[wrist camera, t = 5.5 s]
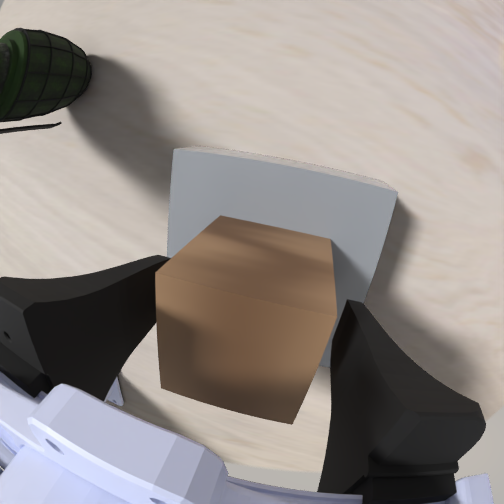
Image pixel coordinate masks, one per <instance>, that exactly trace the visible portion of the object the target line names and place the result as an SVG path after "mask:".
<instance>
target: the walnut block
mask: <svg viewBox="0 0 504 504" xmlns="http://www.w3.org/2000/svg"><path fill="white" fill-rule="evenodd" d="M155 287H156V322H157V342H158V358H159V371H160V382H161V388H162V389H165V390H168V391H171V392H173V393H176V394H179V395H182V396H185V397H188V398H191V399H194V400H197V401H200V402H203V403H207V404H210V405H213V406H217V407H220V408H224V409H227V410H231V411H235V412H238V413H242V414H246V415H250V416H254V417H259V418H263V419H267V420H272V421H277V422H282V423H287V424H293V422H294V420H295V418H296V416H297V413H298V411H299V409H300V407H301V405H302V403H303V400H304V398H305V396H306V394H307V391H308V389H309V387H310V384H311V382H312V380H313V377H314V375H315V373H316V370H317V368H318V365H319V363H320V361H321V358H322V356H323V353H324V351H325V348H326V345H327V343H328V340H329V338H330V335H331V332H332V330H333V327H334V324H335V322H336V319H337V305H336V291H335V279H334V268H333V257H332V248H331V239H328V238H324V237H320V236H315V235H311V234H306V233H302V232H297V231H293V230H288V229H284V228H279V227H274V226H270V225H265V224H260V223H255V222H251V221H246V220H241V219H236V218H231V217H226V216H221V215H220V216H219V217H218V218H217V219H215V220H214V221H213V222H212V223H211V224H210V225H208V226H207V227H206V228H205V229H204V230H203V231H201V232H200V233H199V234H198V235H197V236H196V237H195V238H193V239H192V240H191V241H190V242H189V243H188V244H187V245H186V246H184V247H183V248H182V249H181V250H180V251H179V252H178V253H177V254H175V255H174V256H173V257H172V258H171V259H170V260H169V261H168V262H166V263H165V264H164V265H163V266H162V267H161V268H160V269H159V270H158V271H157V272H155Z"/></svg>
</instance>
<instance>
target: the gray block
mask: <svg viewBox="0 0 504 504" xmlns="http://www.w3.org/2000/svg"><path fill="white" fill-rule="evenodd" d="M397 194H398V191H396V190H395V189H394V188H392V187H391V186H389V185H388V184H387V183H385V182H384V181H381V180H377V179H373V178H370V177H366V176H362V175H358V174H354V173H350V172H346V171H341V170H337V169H333V168H328V167H324V166H319V165H315V164H310V163H305V162H300V161H295V160H290V159H284V158H279V157H273V156H268V155H262V154H256V153H249V152H243V151H236V150H229V149H222V148H214V147H206V146H191V147H184V148H176V149H174V151H173V161H172V173H171V186H170V200H169V218H168V241H167V257H169V258H172V257H173V256H174V255H175V254H177V253H178V252H179V251H180V250H181V249H182V248H183V247H184V246H186V245H187V244H188V243H189V242H190V241H191V240H192V239H193V238H195V237H196V236H197V235H198V234H199V233H200V232H201V231H203V230H204V229H205V228H206V227H207V226H208V225H210V224H211V223H212V222H213V221H214V220H215V219H217V218H218V217H219V216H220V215H221V216H226V217H231V218H236V219H241V220H246V221H251V222H255V223H260V224H265V225H270V226H274V227H279V228H284V229H288V230H293V231H297V232H302V233H306V234H311V235H315V236H320V237H324V238H328V239H331V248H332V257H333V268H334V279H335V291H336V305H337V319H336V322H335V324H334V327H333V330H332V332H331V335H330V338H329V340H328V343H327V345H326V348H325V351H324V353H323V356H322V358H321V361H320V363H319V365H318V366H324V367H329V368H330V357H331V346H332V339H333V336H334V334H335V331H336V328H337V326H338V323H339V320H340V318H341V315H342V312H343V309H344V306H345V304H346V301H347V299H349V300H354V301H358V302H362V303H364V301H365V298H366V295H367V293H368V290H369V287H370V284H371V281H372V278H373V275H374V273H375V270H376V267H377V264H378V261H379V257H380V254H381V251H382V248H383V245H384V241H385V238H386V235H387V231H388V228H389V224H390V221H391V217H392V214H393V210H394V206H395V202H396V198H397Z"/></svg>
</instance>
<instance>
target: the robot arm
mask: <svg viewBox="0 0 504 504" xmlns="http://www.w3.org/2000/svg"><path fill="white" fill-rule="evenodd" d="M170 259H171V258H169V257H165V256H161V255H155V256H151V257H147V258H143V259H140V260H137V261H133V262H130V263H127V264H124V265H121V266H117V267H113V268H110V269H106V270H102V271H99V272H95V273H90V274H85V275H79V276H73V277H64V278H54V279H23V278H12V277H1V278H0V466H1V467H2V468H3V469H4V471H2V469H1V468H0V504H494V502H493V497H492V491H491V486H490V482H489V477H488V474H487V473H484V474H479V475H474V476H468V477H464V478H461V479H459V480H457V481H455V478H454V473H456V472H457V471H458V469H459V467H458V462H457V461H458V460H459V459H460V458H461V457H462V456H463V455H464V454H466V453H467V451H469V450H470V449H471V448H472V447H473V446H474V445H475V444H476V443H477V442H478V441H479V440H480V438H481V436H482V434H483V433H484V431H485V428H486V423H485V420H484V417H483V414H482V411H481V408H480V406H479V403H477V402H475V401H473V400H471V399H469V398H467V397H465V396H463V395H461V394H459V393H457V392H455V391H453V390H452V389H450V388H448V387H447V386H445V385H444V384H442V383H441V382H439V381H438V380H436V379H435V378H433V377H432V376H431V375H429V374H428V373H427V372H426V371H424V370H423V369H422V368H421V367H419V366H418V365H417V364H416V363H415V362H414V361H413V360H411V359H410V358H409V357H408V356H407V355H406V354H405V353H404V352H403V351H402V350H401V349H400V348H399V347H398V346H397V344H396V343H395V342H394V341H393V340H392V339H391V338H390V337H389V335H388V334H387V333H386V332H385V331H384V329H383V328H382V327H381V326H380V324H379V323H378V322H377V321H376V319H375V318H374V317H373V315H372V314H371V313H370V311H369V310H368V309H367V308H366V306H365V305H364V304H363V303H362V302H358V301H354V300H349V299H347V301H346V304H345V306H344V309H343V312H342V315H341V318H340V320H339V323H338V326H337V328H336V331H335V334H334V336H333V339H332V346H331V357H330V372H331V420H330V428H329V436H328V442H327V449H326V455H325V460H324V465H323V470H322V474H321V479H320V483H319V487H318V491H317V492H310V491H302V490H295V489H288V488H282V487H276V486H270V485H265V484H260V483H255V482H251V481H246V480H242V479H238V478H234V477H230V476H228V471H227V469H226V467H225V464H224V462H223V461H222V459H221V458H220V457H219V456H217V455H216V454H215V453H213V452H212V451H211V450H209V449H208V448H207V447H206V446H204V445H202V444H200V443H198V442H196V441H193V440H191V439H189V438H187V437H185V436H183V435H181V434H178V433H175V432H172V431H170V430H167V429H164V428H162V427H159V426H157V425H154V424H152V423H149V422H147V421H145V420H142V419H140V418H137V417H135V416H133V415H131V414H128V413H126V412H124V411H122V410H120V409H118V408H116V407H113V406H111V405H109V404H107V403H105V402H106V401H107V400H108V401H111V402H113V403H115V404H117V405H119V406H123V404H124V402H123V398H122V394H121V390H120V386H119V382H118V378H117V375H118V374H119V372H120V370H121V369H122V367H123V365H124V364H125V362H126V360H127V359H128V357H129V356H130V355H131V353H132V352H133V351H134V349H135V348H136V347H137V346H138V344H139V343H140V342H141V341H142V339H143V338H144V337H145V336H146V335H147V333H148V332H149V331H150V330H151V328H152V327H153V326H154V325H155V323H156V287H155V272H157V271H158V270H159V269H160V268H161V267H162V266H163V265H164V264H165V263H166V262H168V261H169V260H170Z"/></svg>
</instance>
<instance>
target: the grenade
mask: <svg viewBox="0 0 504 504" xmlns="http://www.w3.org/2000/svg"><path fill="white" fill-rule="evenodd" d="M90 78H91V65H90V62H89V61H88V59H87V56H86V54H85V52H84V51H83V50H82V49H81V48H80V47H78V46H77V45H75V44H74V43H72V42H71V41H69V40H68V39H66V38H64V37H61V36H58V35H55V34H51V33H48V32H45V31H42V30H29V29H23V28H16V29H14V30H12V31H9V32H7V33H6V34H5V35H4V36H3V37H2V38H1V39H0V122H8V121H20V120H22V119H26V118H31V117H36V116H43V115H46V114H49V113H51V112H54V111H56V110H59V109H61V108H64V107H67V106H68V105H70V104H71V103H72V102H73V101H74V100H75V99H76V98H77V97H79V96H80V95H81V94H82V93H83V92H84V91H85V90H86V88H87V86H88V84H89V82H90ZM60 124H61V122H59V123H56V124H46V125H33V126H23V127H14V128H6V129H0V134H2V133H9V132H17V131H26V130H36V129H47V128H52V127H55V126H58V125H60Z"/></svg>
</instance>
